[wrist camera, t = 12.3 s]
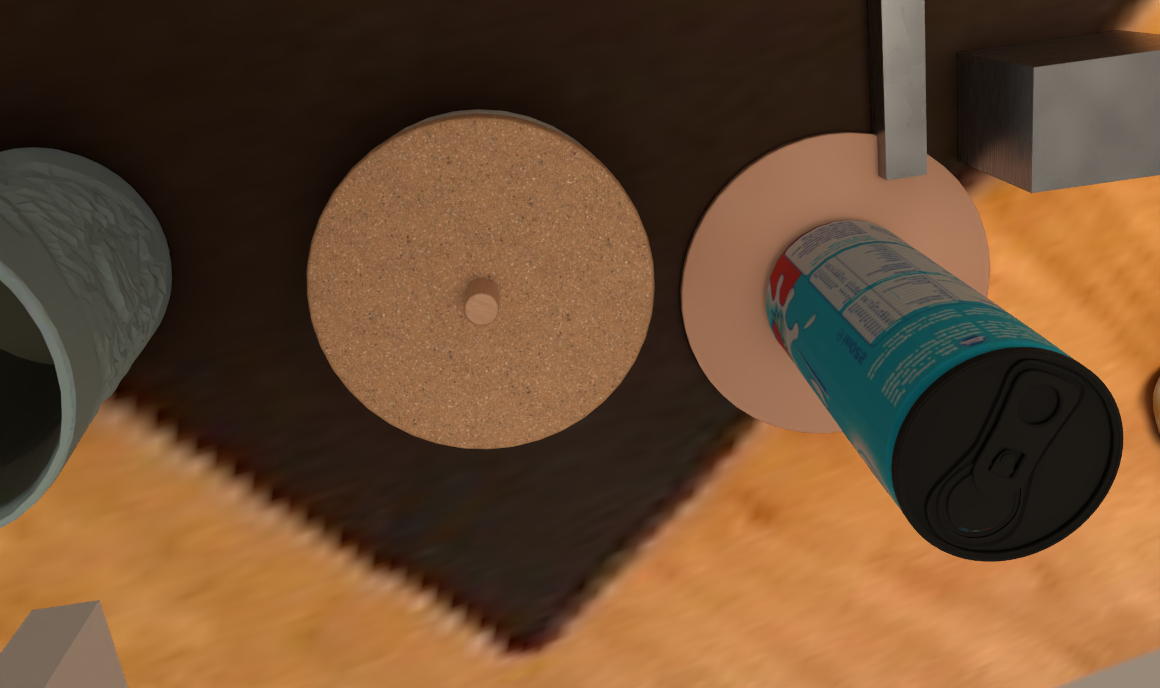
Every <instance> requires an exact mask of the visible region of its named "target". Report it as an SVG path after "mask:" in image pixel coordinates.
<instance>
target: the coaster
mask: <svg viewBox="0 0 1160 688" xmlns="http://www.w3.org/2000/svg"><path fill="white" fill-rule="evenodd" d="M845 220H857V221H867V222H870V223H873V224H876V225H879V226H882V227H884V228H886V229H887V230H889V231H891V232H892V233H894V234H895V235H897V236H898V237H899V238H900V239H902V240H903V241H905V242H906V243H907V244H909V245H910V246H912V247H913V248H915V249H916V250H918V251H919V252H921V253H922V254H924V255H925V256H926V257H928V258H929V259H931V260H932V261H934V262H935V263H937V264H938V265H940V266H941V267H943V268H944V269H945V270H947V271H948V272H950V273H951V274H953V275H954V276H956V277H957V278H959V279H960V280H961V281H963V282H964V283H966V284H967V285H969V286H970V287H972V288H973V289H975V290H976V291H978V292H979V293H980V294H982V295H983V296H985V297H986V298H987V294H988V289H989V277H990V260H989V248H988V243H987V238H986V233H985V229H984V227H983V224H982V221H981V218H980V215H979V213H978V211H977V209H976V207H975V205H974V203H973V201H972V200H971V198H970V196H969V194H968V193H967V192H966V190H965V189H964V188H963V186H962V185H961V184H960V182H959V181H958V180H957V179H956V178H955V177H954V176H953V175H952V174H951V173H950V172H949V171H948V170H947V169H946V168H945V167H944V166H943V165H941V164H940V163H939V162H937V161H936V160H935V159H933V158H932V157H930V156H929V155H927V175H921V176H914V177H907V178H900V179H893V180H885V179H883V178H882V177H880V176H878V147H877V136H876V135H874V134H871V133H866V132H850V131H843V132H829V133H822V134H817V135H812V136H807V137H803V138H800V139H797V140H794V141H792V142H789V143H786V144H783V145H781V146H779V147H777V148H775V149H773V150H771V151H769V152H767V153H765V154H764V155H762V156H760V157H759V158H757V159H756V160H754V161H753V162H751V163H750V164H748V165H747V166H746V167H745V168H743V169H742V170H741V171H740V172H739V173H737V174H736V175H735V176H734V177H733V178H732V179H731V180H730V181H729V182H728V183H727V184H726V185H725V186H724V187H723V188H722V189H721V190H720V191H719V193H718V194H717V195H716V196H715V198H714V199H713V200H712V202H711V203H710V205H709V206H708V207H707V209H706V210H705V212H704V213H703V215H702V217H701V219H700V221H699V223H698V224H697V226H696V228H695V230H694V232H693V235H692V238H691V240H690V243H689V245H688V248H687V251H686V255H685V260H684V264H683V268H682V276H681V285H680V301H681V313H682V318H683V324H684V329H685V332H686V335H687V338H688V341H689V344H690V346H691V349H692V351H693V353H694V355H695V357H696V359H697V361H698V363H699V365H700V367H701V368H702V370H703V371H704V373H705V374H706V376H707V377H708V379H709V380H710V382H711V383H712V384H713V385H714V386H715V387H716V388H717V389H718V391H719V392H720V393H721V394H722V395H723V396H724V397H725V398H727V399H728V400H729V401H730V402H731V403H733V404H734V405H735V406H736V407H738V408H739V409H741V410H742V411H744V412H746V413H747V414H749V415H750V416H752V417H754V418H756V419H759V420H761V421H763V422H765V423H767V424H770V425H773V426H777V427H780V428H783V429H787V430H793V431H799V432H805V433H834V432H843V431H842V430H841V428H840V427H839V426H838V424H837V423H836V421H835V420H834V419H833V417H832V416H831V414H830V413H829V412H828V410H827V409H826V407H825V406H824V405H823V403H822V402H821V400H820V399H819V398H818V396H817V395H816V393H815V392H814V391H813V389H812V388H811V386H810V385H809V384H808V382H807V381H806V379H805V378H804V377H803V375H802V374H801V372H800V371H799V370H798V368H797V367H796V365H795V364H794V363H793V361H792V360H791V358H790V357H789V356H788V354H787V353H786V351H785V350H784V349H783V347H782V346H781V345H780V344H779V342H778V341H777V340H776V338H775V336H774V334H773V332H772V330H771V327H770V325H769V321H768V316H767V312H766V293H767V289H768V284H769V280H770V276H771V274H772V271H773V269H774V267H775V265H776V263H777V261H778V259H779V258H780V257H781V255H782V254H783V253H784V251H785V250H786V249H787V247H788V246H789V245H791V244H792V243H793V242H794V241H795V240H796V239H797V238H799V237H800V236H801V235H803V234H805V233H806V232H808V231H810V230H812V229H813V228H815V227H818V226H821V225H824V224H827V223H830V222H837V221H845Z"/></svg>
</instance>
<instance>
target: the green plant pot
mask: <svg viewBox="0 0 1160 688" xmlns="http://www.w3.org/2000/svg"><path fill="white" fill-rule="evenodd" d="M171 284H172V269H171V260H170V254H169V248H168V245H167V239H166V237H165V234H164V232H163V230H162V227H161V225H160V223H159V221H158V220H157V218H156V216H155V215H154V213H153V211H152V210H151V208H150V207H149V206H148V205H147V203H146V202H145V201H144V200H143V198H142V197H141V196H140V195H139V194H138V193H137V192H136V191H135V190H134V188H133V187H132V186H130V185H129V184H128V183H127V182H126V181H125V180H123V179H122V178H121V177H120V176H119V175H117V174H115V173H114V172H112V171H111V170H109V169H107V168H106V167H104V166H102V165H100V164H99V163H96V162H94V161H92V160H89V159H87V158H85V157H82V156H80V155H76V154H72V153H69V152H65V151H61V150H57V149H51V148H36V147H29V148H17V149H10V150H6V151H2V152H0V528H1V527H3V526H5V525H7V524H9V523H10V522H12V521H14V520H16V519H17V518H18V517H20V516H21V515H22V514H23V513H24V512H25V511H27V510H28V509H29V508H30V507H31V506H32V505H34V504H35V503H36V502H37V501H38V500H39V499H40V498H41V496H42V495H43V494H44V493H45V492H46V491H47V490H48V488H49V487H50V486H51V485H52V484H53V482H54V481H55V479H56V478H57V477H58V475H59V474H60V472H61V470H62V469H63V467H64V465H65V464H66V462H67V461H68V459H69V457H70V456H71V454H72V452H73V451H74V449H75V447H76V446H77V444H78V442H79V441H80V439H81V437H82V436H83V434H84V432H85V431H86V429H87V427H88V425H89V424H90V423H91V422H92V420H93V418H94V416H95V415H96V414H97V411H98V409H99V406H100V404H101V403H102V402H104V401H105V400H106V399H107V398H109V397H110V396H111V395H112V394H113V392H114V391H115V390H116V388H117V387H118V385H119V383H120V381H121V379H122V378H123V377H124V376H125V375H126V374H127V372H128V371H129V369H130V367H131V365H132V364H133V362H134V361H135V359H136V358H137V357H138V355H139V354H140V353H141V351H142V350H143V349H144V347H145V346H146V344H147V343H148V341H149V340H150V338H151V337H152V336H153V334H154V333H155V331H156V330H157V328H158V326H159V325H160V323H161V321H162V319H163V317H164V314H165V312H166V309H167V305H168V302H169V298H170V295H171Z"/></svg>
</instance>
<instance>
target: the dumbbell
mask: <svg viewBox="0 0 1160 688" xmlns="http://www.w3.org/2000/svg"><path fill="white" fill-rule="evenodd" d="M867 2H868V32H869V62H870V92H871V123H872V134H874V135H876V136H877V147H878V176H880V177H882V178H883V179H885V180H893V179H900V178H907V177H914V176H921V175H927V137H926V74H925V10H924V0H867ZM957 106H958V161H959V162H962V163H964V164H966V165H968V166H971V167H973V168H975V169H978V170H980V171H982V172H985V173H987V174H989V175H991V176H994V177H996V178H998V179H1001V180H1003V181H1005V182H1008V183H1010V184H1012V185H1014V186H1017V187H1019V188H1021V189H1024V190H1026V191H1028V192H1030V193H1035V192H1042V191H1049V190H1056V189H1063V188H1070V187H1078V186H1085V185H1092V184H1099V183H1106V182H1113V181H1120V180H1127V179H1134V178H1141V177H1148V176H1155V175H1160V35H1158V34H1149V33H1140V32H1131V31H1122V30H1115V31H1108V32H1101V33H1094V34H1086V35H1079V36H1072V37H1065V38H1057V39H1050V40H1043V41H1036V42H1028V43H1021V44H1014V45H1007V46H1000V47H992V48H985V49H978V50H971V51H963V52H957Z"/></svg>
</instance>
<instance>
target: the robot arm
mask: <svg viewBox="0 0 1160 688" xmlns="http://www.w3.org/2000/svg"><path fill="white" fill-rule="evenodd" d="M0 688H128V686H127V683H126V680H125V677H124V674H123V671H122V668H121V665H120V662H119V659H118V656H117V653H116V650H115V647H114V643H113V640H112V637H111V634H110V631H109V628H108V625H107V622H106V619H105V616H104V613H103V610H102V607H101V604H100V601H99V600H98V601H92V602H85V603H78V604H71V605H64V606H58V607H51V608H44V609H37V610H32V611H31V612H30V614H29V615H28V616H27V618H26V619H25V621H24V622H23V623H22V625H21V626H20V627H19V629H18V630H17V632H16V633H15V634H14V636H13V637H12V639H11V640H10V641H9V643H8V644H7V645H6V647H5V648H4V650H3V651H2V652H1V654H0Z"/></svg>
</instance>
